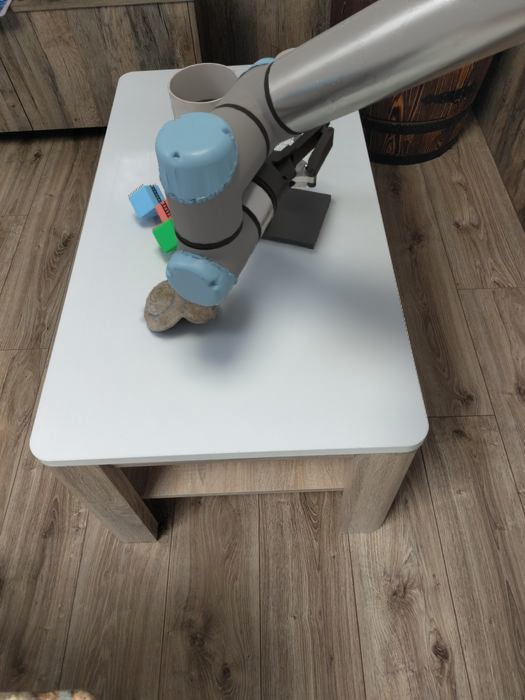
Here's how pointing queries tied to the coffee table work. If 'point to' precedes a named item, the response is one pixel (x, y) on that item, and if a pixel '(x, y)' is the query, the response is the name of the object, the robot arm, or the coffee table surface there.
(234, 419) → the coffee table surface
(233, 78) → the planter
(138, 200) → the building blocks
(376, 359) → the coffee table surface
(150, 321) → the fossilized seashell
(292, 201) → the scale
